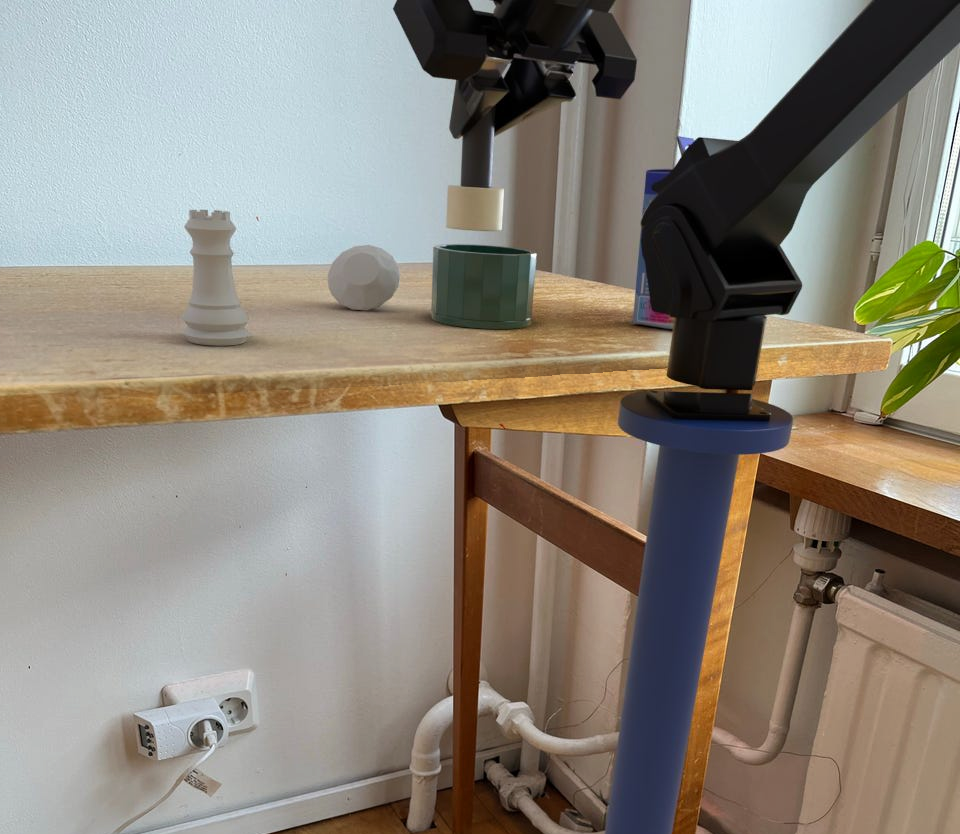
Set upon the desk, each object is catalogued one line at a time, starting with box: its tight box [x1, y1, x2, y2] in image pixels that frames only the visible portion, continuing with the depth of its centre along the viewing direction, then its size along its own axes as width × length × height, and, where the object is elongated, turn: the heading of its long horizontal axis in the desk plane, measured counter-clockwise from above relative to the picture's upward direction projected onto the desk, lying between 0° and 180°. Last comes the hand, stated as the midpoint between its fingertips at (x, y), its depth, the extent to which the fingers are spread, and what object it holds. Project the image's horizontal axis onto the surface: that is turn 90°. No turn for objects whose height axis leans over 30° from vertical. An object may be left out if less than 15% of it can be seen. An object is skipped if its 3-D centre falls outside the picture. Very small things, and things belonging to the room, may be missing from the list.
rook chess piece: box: [181, 209, 251, 347], centre depth 64 cm, size 4×4×8 cm
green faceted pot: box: [430, 243, 538, 330], centre depth 79 cm, size 8×8×6 cm
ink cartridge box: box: [632, 135, 696, 330], centre depth 83 cm, size 10×6×14 cm, turn 148°
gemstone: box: [327, 244, 401, 312], centre depth 84 cm, size 6×6×5 cm
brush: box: [445, 105, 505, 232], centre depth 74 cm, size 4×4×13 cm
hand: (467, 135), depth 75 cm, fingers closed on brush, 2 cm apart
